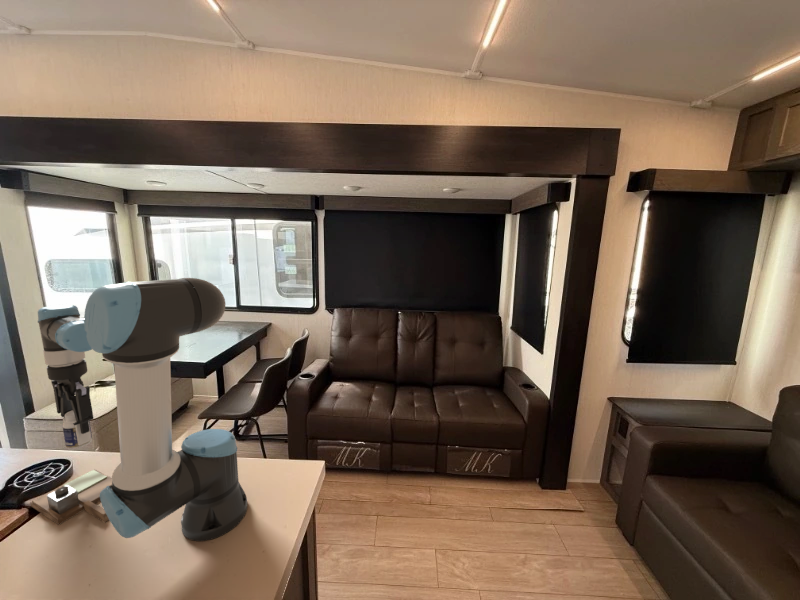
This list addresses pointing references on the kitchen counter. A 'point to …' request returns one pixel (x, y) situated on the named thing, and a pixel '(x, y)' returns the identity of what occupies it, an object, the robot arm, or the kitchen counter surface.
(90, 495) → the station
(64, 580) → the kitchen counter surface
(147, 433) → the robot arm
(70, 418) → the pill bottle
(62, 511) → the latch bolt
